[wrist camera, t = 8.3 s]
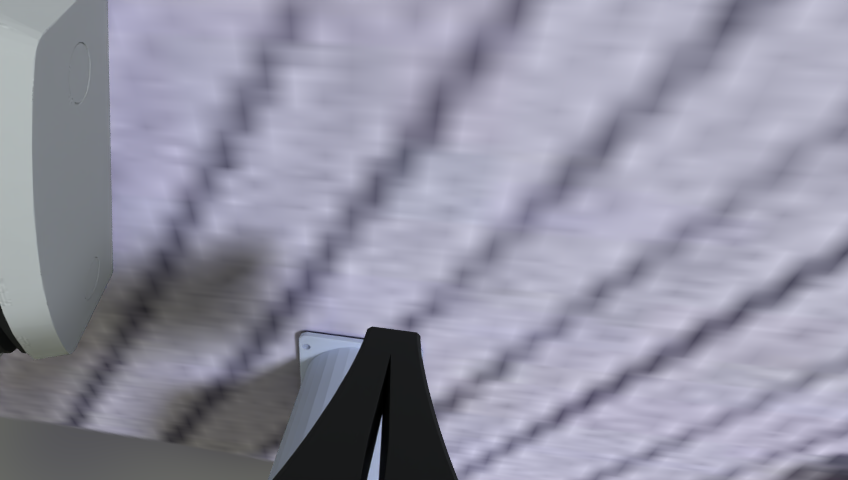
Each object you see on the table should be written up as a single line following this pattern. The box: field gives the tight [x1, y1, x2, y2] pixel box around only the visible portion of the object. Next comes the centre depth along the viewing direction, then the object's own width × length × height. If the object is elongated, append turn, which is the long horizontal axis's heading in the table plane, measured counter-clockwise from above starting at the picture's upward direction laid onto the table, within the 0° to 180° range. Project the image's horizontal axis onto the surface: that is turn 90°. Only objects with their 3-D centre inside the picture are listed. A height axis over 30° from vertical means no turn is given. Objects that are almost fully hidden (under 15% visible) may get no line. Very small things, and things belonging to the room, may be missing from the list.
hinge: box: [0, 0, 113, 360], centre depth 16 cm, size 17×5×10 cm, turn 156°
